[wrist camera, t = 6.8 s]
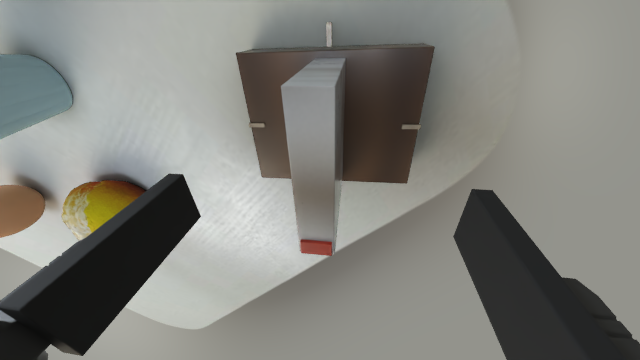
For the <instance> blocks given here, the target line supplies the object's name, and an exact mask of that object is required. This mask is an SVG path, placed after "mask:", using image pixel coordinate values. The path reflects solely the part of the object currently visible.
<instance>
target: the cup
mask: <svg viewBox="0 0 640 360" xmlns="http://www.w3.org/2000/svg"><path fill="white" fill-rule="evenodd" d="M71 105H72V94H71V91H70V89H69V87H68V85H67V83H66V82H65V80H64V79H63V78H62V77H61V75H60V74H59V73H58V72H57V71H56V70H55V69H54V68H53V67H51V66H50V65H49V64H47V63H46V62H44V61H43V60H41V59H39V58H36V57H34V56H31V55H6V54H0V139H2V138H4V137H6V136H9V135H11V134H13V133H16V132H18V131H20V130H23V129H25V128H27V127H30V126H32V125H34V124H36V123H39V122H41V121H43V120H46V119H48V118H50V117H53V116H55V115H57V114H59V113H62V112H64V111H66V110H68V109H69V108H70V107H71Z"/></svg>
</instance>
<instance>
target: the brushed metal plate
mask: <svg viewBox="0 0 640 360" xmlns="http://www.w3.org/2000/svg"><path fill="white" fill-rule="evenodd" d="M345 68H346V58H315V59H314V60H313V61H312V62H310V63H309V64H308V65H307V66H305V67H304V68H303V69H302V70H300V71H299V72H298V73H297V74H295V75H294V76H293V77H292V78H290V79H289V80H288V81H287V82H285V83H284V84H283V85H282V86H281V92H282V101H283V109H284V118H285V126H286V135H287V143H288V152H289V160H290V169H291V178H292V186H293V195H294V203H295V212H296V220H297V229H298V237H299V246H300V251H301V253H307V254H318V255H329V256H332V255H334V254H335V245H336V235H337V225H338V216H339V206H340V196H341V187H342V177H343V141H344V104H345Z"/></svg>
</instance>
